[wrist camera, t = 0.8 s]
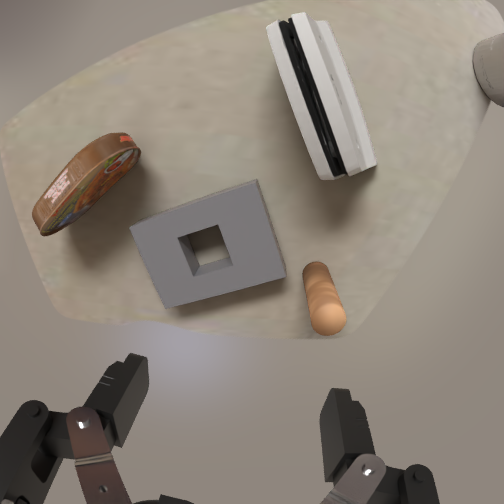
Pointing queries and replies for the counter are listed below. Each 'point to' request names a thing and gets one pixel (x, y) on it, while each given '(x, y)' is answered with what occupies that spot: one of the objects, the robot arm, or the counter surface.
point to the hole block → (235, 237)
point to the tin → (84, 181)
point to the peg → (323, 300)
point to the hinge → (322, 96)
